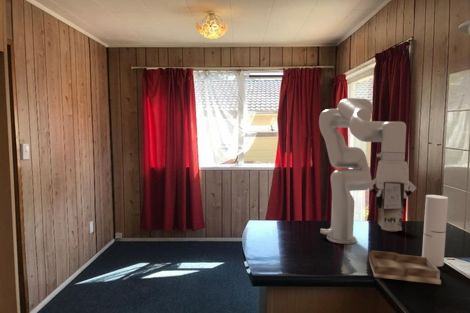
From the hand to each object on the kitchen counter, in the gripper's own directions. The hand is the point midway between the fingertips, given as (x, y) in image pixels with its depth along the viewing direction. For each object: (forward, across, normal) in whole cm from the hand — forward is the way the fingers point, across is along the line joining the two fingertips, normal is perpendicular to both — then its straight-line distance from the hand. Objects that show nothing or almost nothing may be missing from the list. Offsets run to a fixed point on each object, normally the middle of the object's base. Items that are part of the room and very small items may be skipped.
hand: (390, 207), depth 124 cm
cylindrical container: (+22, +18, +11) cm, 30 cm away
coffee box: (+7, 0, 0) cm, 7 cm away
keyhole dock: (+22, +5, -1) cm, 22 cm away
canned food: (+22, +10, +54) cm, 59 cm away
